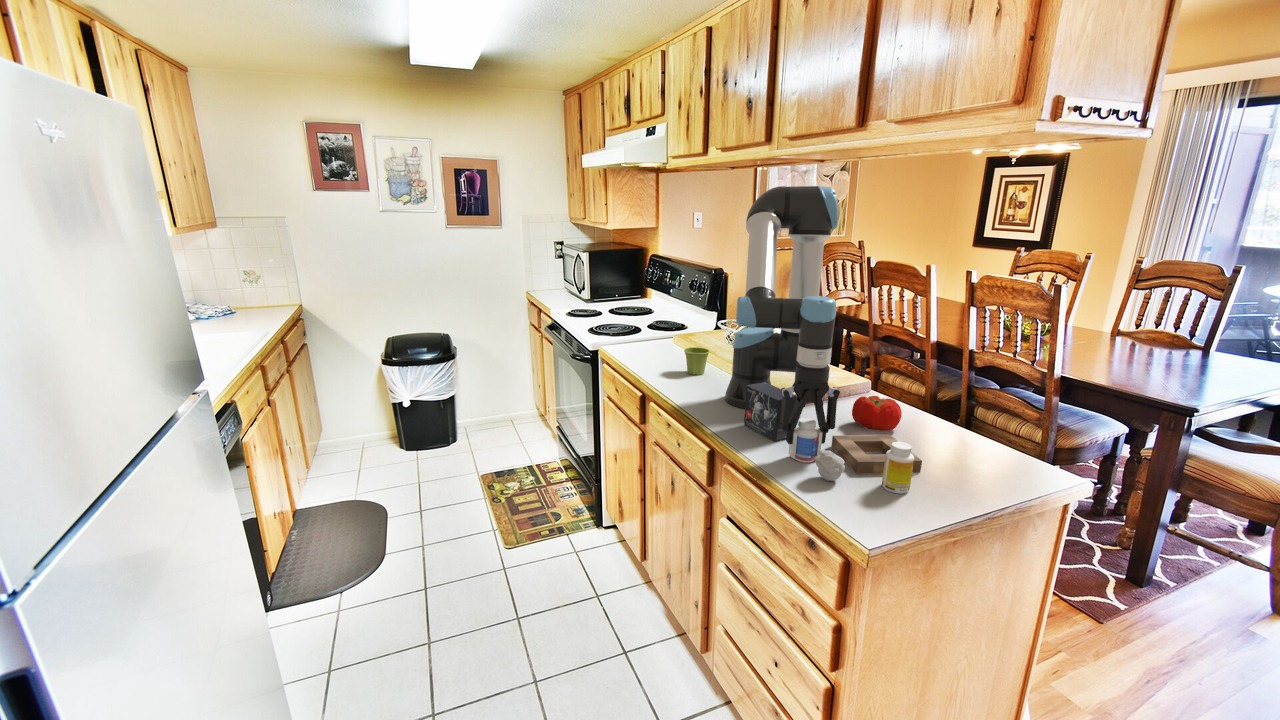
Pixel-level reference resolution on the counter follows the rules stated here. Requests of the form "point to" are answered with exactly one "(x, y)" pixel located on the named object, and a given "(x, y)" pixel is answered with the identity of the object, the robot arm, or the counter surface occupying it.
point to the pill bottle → (806, 440)
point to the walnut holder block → (857, 445)
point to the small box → (765, 410)
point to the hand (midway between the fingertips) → (804, 455)
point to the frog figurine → (829, 465)
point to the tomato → (876, 413)
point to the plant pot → (696, 360)
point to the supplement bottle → (898, 468)
